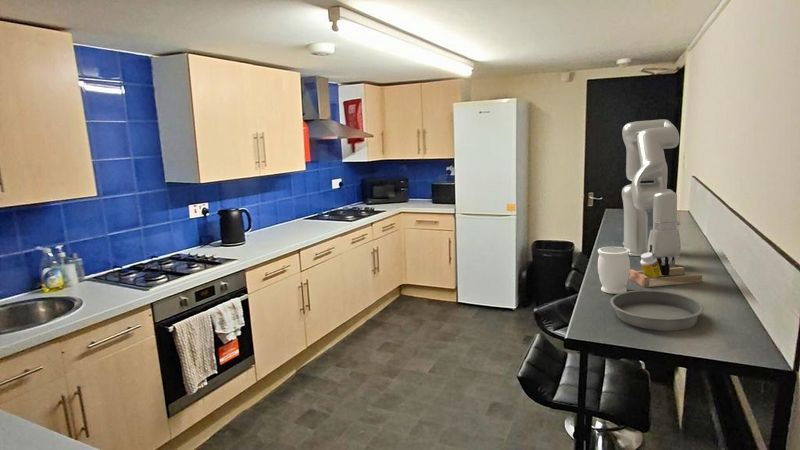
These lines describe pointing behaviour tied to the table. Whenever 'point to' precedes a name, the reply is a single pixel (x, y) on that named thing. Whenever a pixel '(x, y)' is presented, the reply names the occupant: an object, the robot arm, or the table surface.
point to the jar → (613, 269)
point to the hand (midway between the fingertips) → (664, 274)
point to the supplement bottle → (650, 266)
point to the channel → (664, 278)
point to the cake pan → (657, 309)
